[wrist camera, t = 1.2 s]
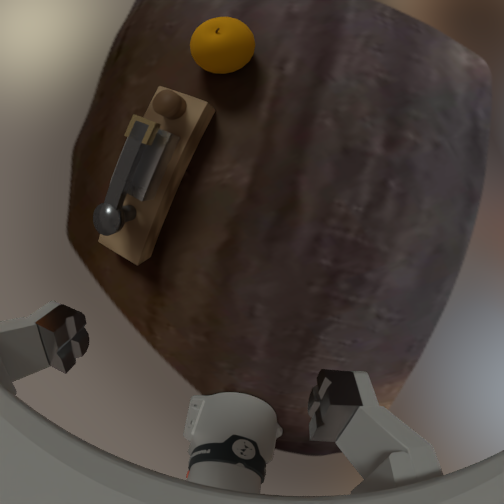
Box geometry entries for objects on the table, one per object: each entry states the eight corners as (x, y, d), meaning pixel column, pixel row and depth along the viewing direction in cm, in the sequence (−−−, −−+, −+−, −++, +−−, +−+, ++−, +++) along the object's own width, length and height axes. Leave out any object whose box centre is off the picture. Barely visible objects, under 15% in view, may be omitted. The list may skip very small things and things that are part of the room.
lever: (119, 238, 28) (112, 241, 27) (97, 224, 28) (90, 227, 27) (163, 125, 24) (157, 123, 23) (137, 115, 24) (130, 113, 23)
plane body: (150, 257, 37) (123, 275, 30) (113, 235, 37) (82, 248, 29) (215, 110, 31) (198, 93, 24) (171, 94, 31) (145, 77, 23)
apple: (192, 45, 28) (173, 21, 21) (246, 26, 27) (238, -3, 20) (208, 89, 30) (190, 69, 23) (265, 69, 29) (261, 43, 22)
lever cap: (153, 199, 31) (142, 201, 28) (122, 183, 30) (109, 184, 28) (180, 137, 28) (170, 133, 26) (147, 123, 28) (135, 119, 25)
